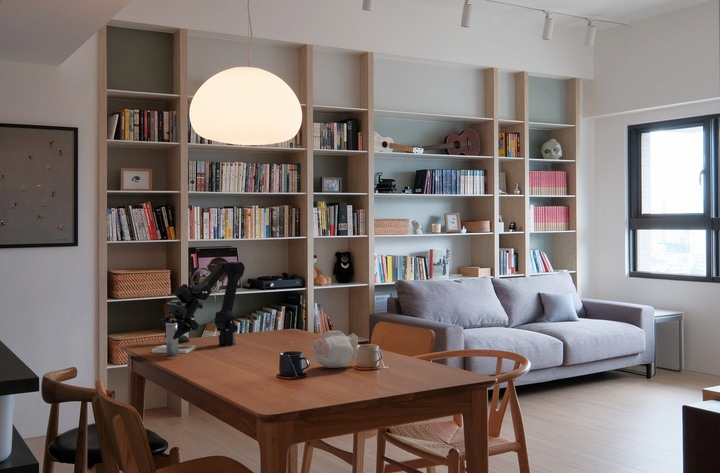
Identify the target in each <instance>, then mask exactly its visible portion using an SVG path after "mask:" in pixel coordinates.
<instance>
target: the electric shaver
mask: <svg viewBox="0 0 720 473" xmlns="http://www.w3.org/2000/svg"><path fill="white" fill-rule="evenodd" d="M167 305H169V306H170V305H171V306H178V307H179V306H180V305H183V306H184V305H185V303H181V302H180V300H179V299H172V300H170V301H169V302H166V303H164V304H163V310H164V313H165V314H166V315H170V316H173V314H171V313H168V310H167ZM178 328H179V325H178ZM189 342H190V339H189V337H188V336H187V335H185V334H183V335H182V336H180V337H178V344H187V343H189Z"/></svg>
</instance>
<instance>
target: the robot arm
mask: <svg viewBox="0 0 720 473" xmlns="http://www.w3.org/2000/svg"><path fill="white" fill-rule="evenodd" d="M245 269H246V266H245V265H244V263H243V262H241V261H229V262H227V261H220V262H217V264H216V265H215V267H214V268H213V269H212V270H211V271H210V273H209V274H208V275H207V277H206V278H205V279H204V280H203V281H201V282H200V283H197V284H196V285H195V286H193V288H191V289H190V287H189V286H188V285H187V283H185V284H184V283H183V284H182V285H180V286H179V287H177V288H175V290H174V291H173V294H174V296H175V298H177V300H180V302H181V303H185V305H184V306H183V305H180V306H179V307H178V306H171V305H169V306H168V310H167V312H168V313H171V314H173V315H171V314H170V315H163V316H162V318H161V321H162V322H163V324H164V325H165V326H166V323H169V322H177V323H178V325H179V328H178V330H177V331H176V333H175V335H174V337H173V339H177V338H178V337H180V336H182V335H183V334H184V335H186V334H187V333H189V332H191V331H195V332H196V331H198V329H199V328H200V326H199V325H200V324H199V323H198V322H197V320H196V319H195V313H196V312H197V310H198V309H203V308H204V307H203V302H200V301H206V300H208V299H209V297H210V295H211V293H212V289H213V287H214V286H215V285H216V283H217V282H218V281H219V280H220V279H221V277H223V275H224V274H225V275H226V278H227V282H226V286H225V291H224V296H223V300H222V306H221V309H220V310H219V311H216V312H215V317H214V320H213V321H214V325H215V328H216V330H217V332H219V335H218V346H229V347H230V346H233V345H236V344H237V342H236V341H235V340H236V339H235V338H236V337H235V336H236V334H235V333H237V332H238V329H239V326H238V325H237V324H236V323H235V314H234V313H233V308H234V304H235V298H236V293H237V290H238V289H237V288H238V285H239V281H240V280H241V278H242V277H243V275H244V274H245ZM199 300H200V301H199ZM172 316H173V317H172ZM164 338H165V339H166V333H165V335H164Z"/></svg>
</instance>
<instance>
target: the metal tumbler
mask: <svg viewBox="0 0 720 473" xmlns="http://www.w3.org/2000/svg"><path fill="white" fill-rule="evenodd" d="M177 330H178V323H177V322H169V323H166V325H165V334H166V338H165V341H166V342H165V345H166V353H165V354H166V356H167V357H177V356H179V353H178V346H179V343H178V338H177V339H173V337H174V335H175V333H176V331H177Z"/></svg>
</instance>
